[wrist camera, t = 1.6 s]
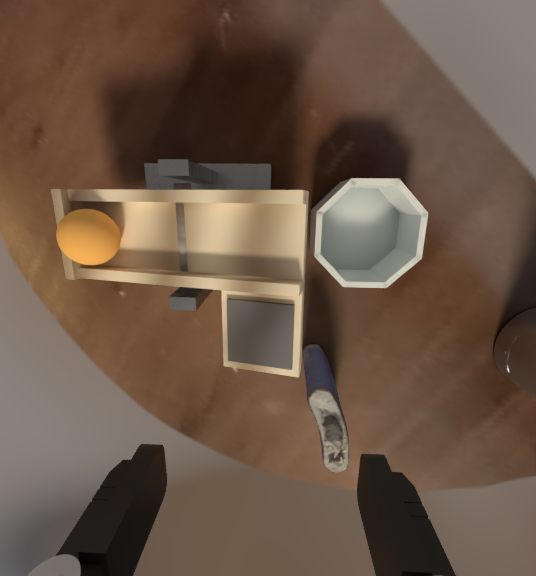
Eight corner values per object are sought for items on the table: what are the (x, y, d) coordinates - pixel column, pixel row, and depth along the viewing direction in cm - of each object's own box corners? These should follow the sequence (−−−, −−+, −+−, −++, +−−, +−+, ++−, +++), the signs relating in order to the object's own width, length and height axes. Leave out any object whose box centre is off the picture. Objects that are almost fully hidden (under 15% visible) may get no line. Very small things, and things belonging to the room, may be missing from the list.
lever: (309, 183, 20) (302, 180, 18) (300, 370, 24) (293, 392, 21) (85, 184, 25) (49, 181, 22) (107, 341, 28) (79, 357, 26)
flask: (299, 345, 35) (306, 405, 24) (325, 339, 34) (343, 398, 24) (316, 413, 37) (329, 495, 27) (340, 408, 37) (363, 489, 26)
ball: (129, 208, 23) (86, 209, 19) (135, 261, 24) (95, 272, 20) (85, 207, 24) (36, 208, 20) (92, 258, 25) (47, 268, 21)
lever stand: (271, 165, 30) (265, 146, 20) (269, 285, 33) (263, 322, 23) (149, 164, 30) (81, 145, 20) (159, 282, 34) (105, 317, 23)
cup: (406, 182, 30) (433, 178, 24) (395, 274, 32) (417, 289, 27) (312, 181, 30) (318, 177, 25) (307, 272, 32) (312, 286, 27)
